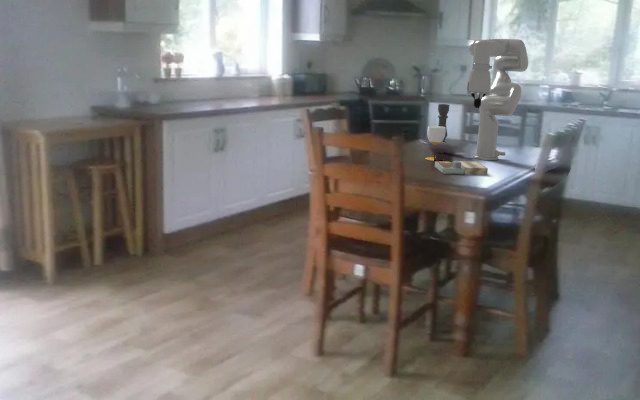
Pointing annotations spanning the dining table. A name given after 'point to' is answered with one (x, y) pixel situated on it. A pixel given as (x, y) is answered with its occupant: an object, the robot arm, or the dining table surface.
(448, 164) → the terracotta tile
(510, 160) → the dining table surface
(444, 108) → the candle holder
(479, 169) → the birch platform
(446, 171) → the box
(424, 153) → the dining table surface
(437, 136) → the cup
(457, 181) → the dining table surface
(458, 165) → the slate tile
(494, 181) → the dining table surface
